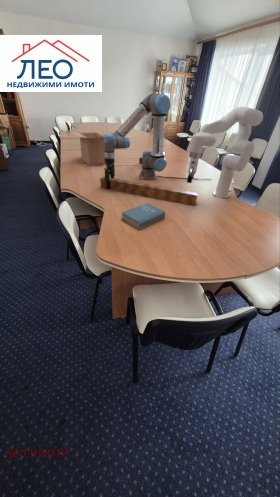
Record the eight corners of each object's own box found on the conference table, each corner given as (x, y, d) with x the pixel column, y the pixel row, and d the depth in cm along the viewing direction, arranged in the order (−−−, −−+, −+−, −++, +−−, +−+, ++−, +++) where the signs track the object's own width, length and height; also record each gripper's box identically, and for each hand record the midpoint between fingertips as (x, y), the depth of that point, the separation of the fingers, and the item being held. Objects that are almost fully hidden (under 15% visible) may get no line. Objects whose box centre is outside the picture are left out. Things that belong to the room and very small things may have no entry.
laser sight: (158, 166, 235) (159, 156, 229) (137, 164, 238) (138, 154, 232) (159, 164, 243) (160, 154, 237) (139, 161, 245) (140, 152, 239)
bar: (100, 187, 178) (100, 178, 174) (103, 185, 182) (103, 176, 178) (194, 205, 162) (197, 195, 157) (195, 203, 166) (198, 193, 161)
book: (146, 209, 152) (147, 202, 149) (164, 218, 143) (165, 211, 140) (121, 219, 138) (121, 212, 135) (139, 230, 130) (139, 222, 127)
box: (116, 165, 229) (116, 136, 213) (83, 168, 214) (80, 137, 198) (102, 154, 259) (101, 128, 243) (71, 156, 244) (68, 129, 228)
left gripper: (108, 161, 156) (109, 192, 170) (119, 155, 171) (119, 184, 185) (99, 160, 158) (100, 190, 172) (110, 154, 173) (110, 182, 187)
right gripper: (199, 158, 138) (193, 185, 148) (202, 152, 151) (196, 177, 161) (187, 157, 139) (182, 183, 149) (191, 151, 153) (186, 175, 163)
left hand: (110, 187), depth 178 cm, fingers open, 6 cm apart
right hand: (190, 180), depth 155 cm, fingers open, 9 cm apart
